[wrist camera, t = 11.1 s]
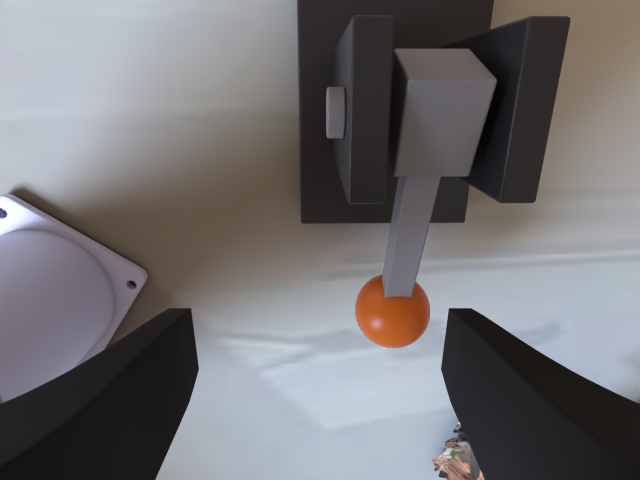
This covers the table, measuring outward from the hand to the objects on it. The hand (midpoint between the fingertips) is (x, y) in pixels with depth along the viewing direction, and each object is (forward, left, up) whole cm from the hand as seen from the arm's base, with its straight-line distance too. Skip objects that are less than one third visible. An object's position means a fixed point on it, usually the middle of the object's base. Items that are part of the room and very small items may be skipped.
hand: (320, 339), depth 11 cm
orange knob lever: (+4, -1, -6) cm, 7 cm away
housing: (+7, +1, -10) cm, 12 cm away
